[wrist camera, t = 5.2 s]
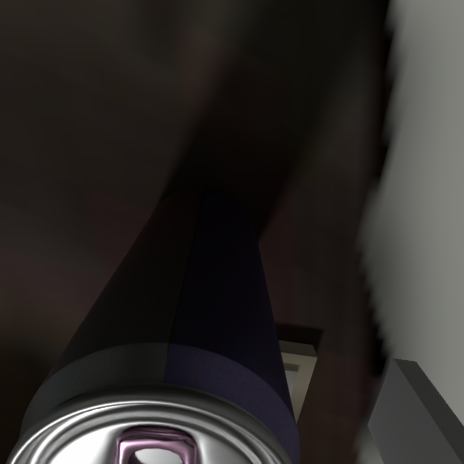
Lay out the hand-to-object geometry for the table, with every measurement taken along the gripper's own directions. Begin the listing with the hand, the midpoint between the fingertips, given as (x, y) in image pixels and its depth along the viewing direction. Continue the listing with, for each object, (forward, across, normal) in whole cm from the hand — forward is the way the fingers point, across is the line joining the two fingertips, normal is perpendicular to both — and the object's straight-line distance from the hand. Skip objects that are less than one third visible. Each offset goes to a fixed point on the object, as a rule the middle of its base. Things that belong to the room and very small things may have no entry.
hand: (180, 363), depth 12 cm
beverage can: (+10, 0, +1) cm, 10 cm away
